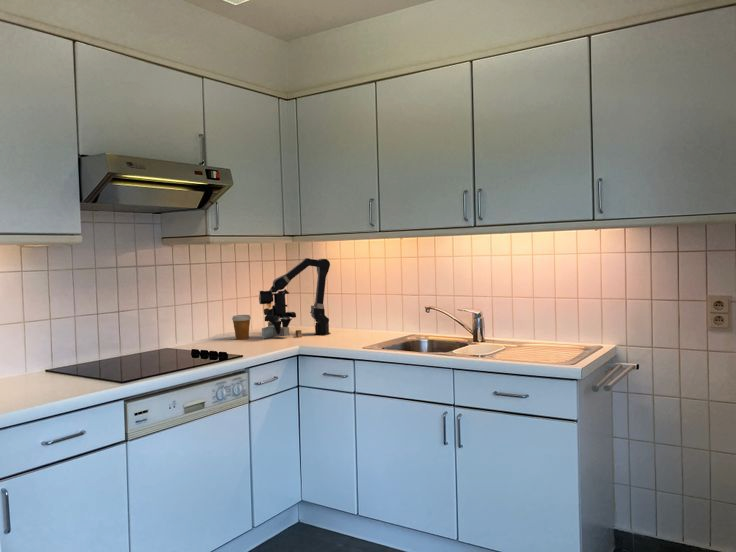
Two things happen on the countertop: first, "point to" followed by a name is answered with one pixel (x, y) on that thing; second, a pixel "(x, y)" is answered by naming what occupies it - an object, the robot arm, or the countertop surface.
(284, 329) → the grey rectangular block
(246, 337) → the disposable coffee cup
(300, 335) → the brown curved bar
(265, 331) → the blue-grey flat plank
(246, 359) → the countertop surface
